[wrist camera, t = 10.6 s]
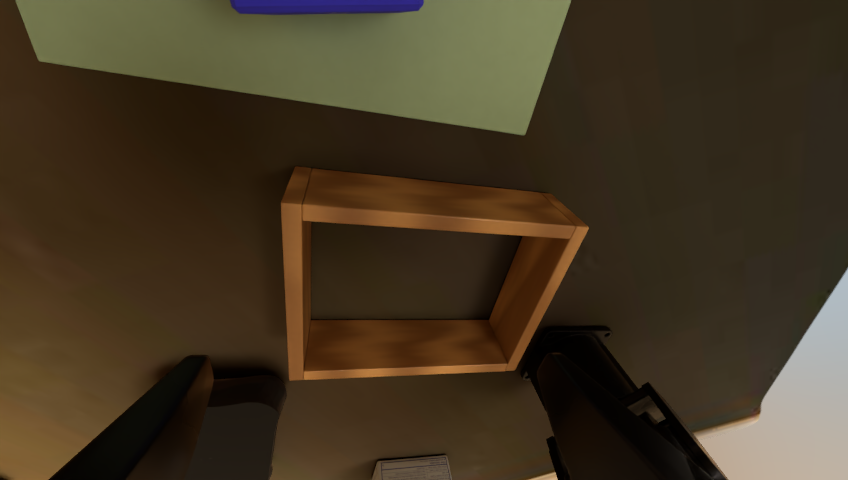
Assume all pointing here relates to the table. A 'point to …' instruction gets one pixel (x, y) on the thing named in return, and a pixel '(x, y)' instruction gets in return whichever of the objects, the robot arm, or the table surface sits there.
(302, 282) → the pine box
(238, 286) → the table surface
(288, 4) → the die
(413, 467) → the medicine box
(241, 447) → the black sponge
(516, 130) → the mat
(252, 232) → the table surface
